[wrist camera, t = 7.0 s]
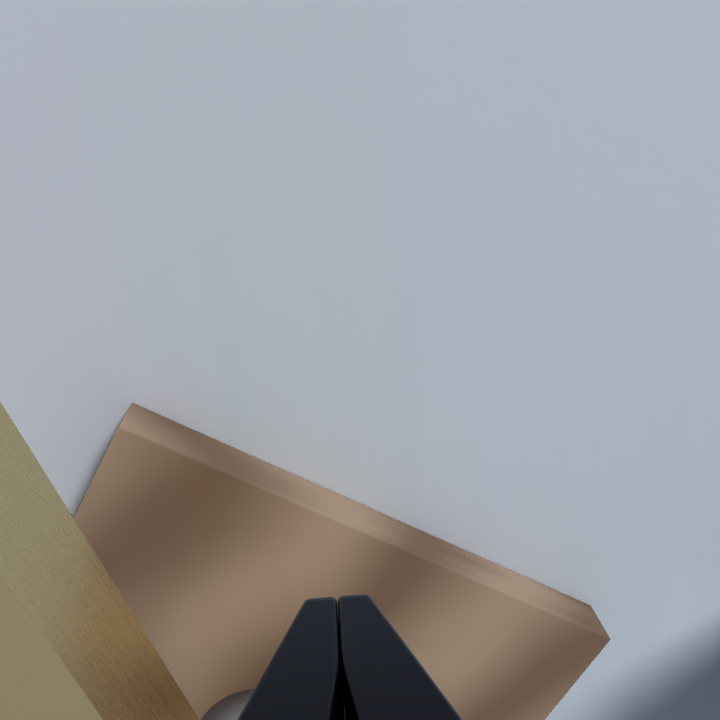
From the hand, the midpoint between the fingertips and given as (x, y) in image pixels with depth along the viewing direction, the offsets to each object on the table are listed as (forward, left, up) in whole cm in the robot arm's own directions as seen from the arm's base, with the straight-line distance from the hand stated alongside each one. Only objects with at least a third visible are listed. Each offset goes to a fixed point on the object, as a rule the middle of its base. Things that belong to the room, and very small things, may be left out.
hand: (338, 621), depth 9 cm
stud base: (-4, +12, -10) cm, 16 cm away
